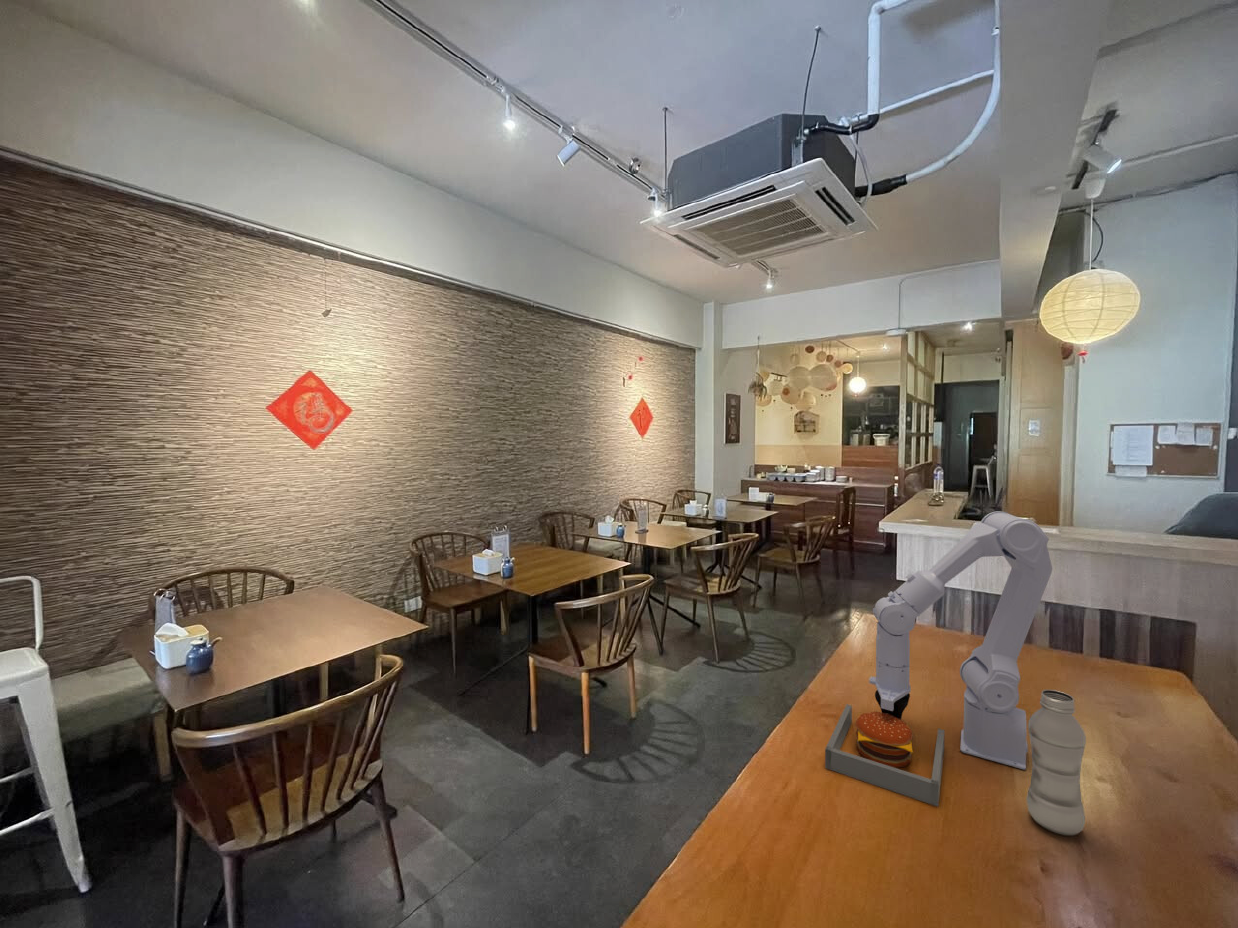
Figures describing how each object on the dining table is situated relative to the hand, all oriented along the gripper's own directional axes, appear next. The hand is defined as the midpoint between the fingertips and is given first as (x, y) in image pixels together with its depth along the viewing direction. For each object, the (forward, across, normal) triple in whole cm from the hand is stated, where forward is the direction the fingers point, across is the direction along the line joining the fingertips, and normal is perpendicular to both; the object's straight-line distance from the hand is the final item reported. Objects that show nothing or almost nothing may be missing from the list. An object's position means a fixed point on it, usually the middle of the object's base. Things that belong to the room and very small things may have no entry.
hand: (892, 729), depth 99 cm
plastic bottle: (+2, +12, +23) cm, 26 cm away
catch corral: (+2, +8, 0) cm, 8 cm away
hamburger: (+2, +6, -1) cm, 6 cm away
